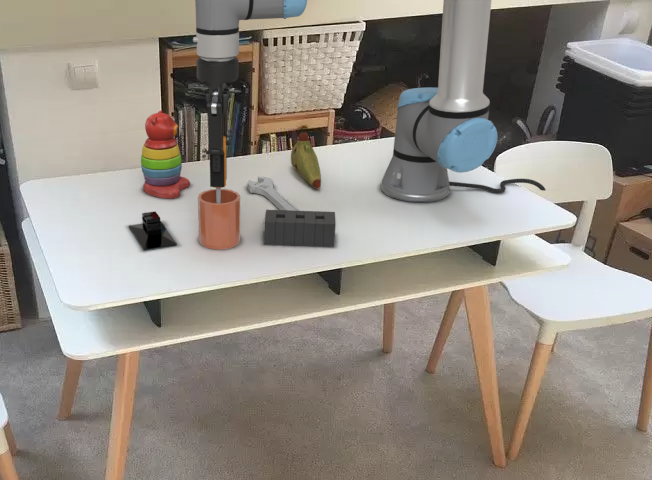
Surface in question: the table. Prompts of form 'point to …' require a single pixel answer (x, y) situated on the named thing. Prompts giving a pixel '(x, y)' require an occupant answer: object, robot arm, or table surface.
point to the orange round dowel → (218, 189)
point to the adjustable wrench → (270, 193)
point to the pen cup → (219, 219)
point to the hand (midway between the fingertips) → (218, 182)
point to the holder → (299, 228)
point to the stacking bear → (162, 158)
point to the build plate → (152, 233)
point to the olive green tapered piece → (306, 161)
